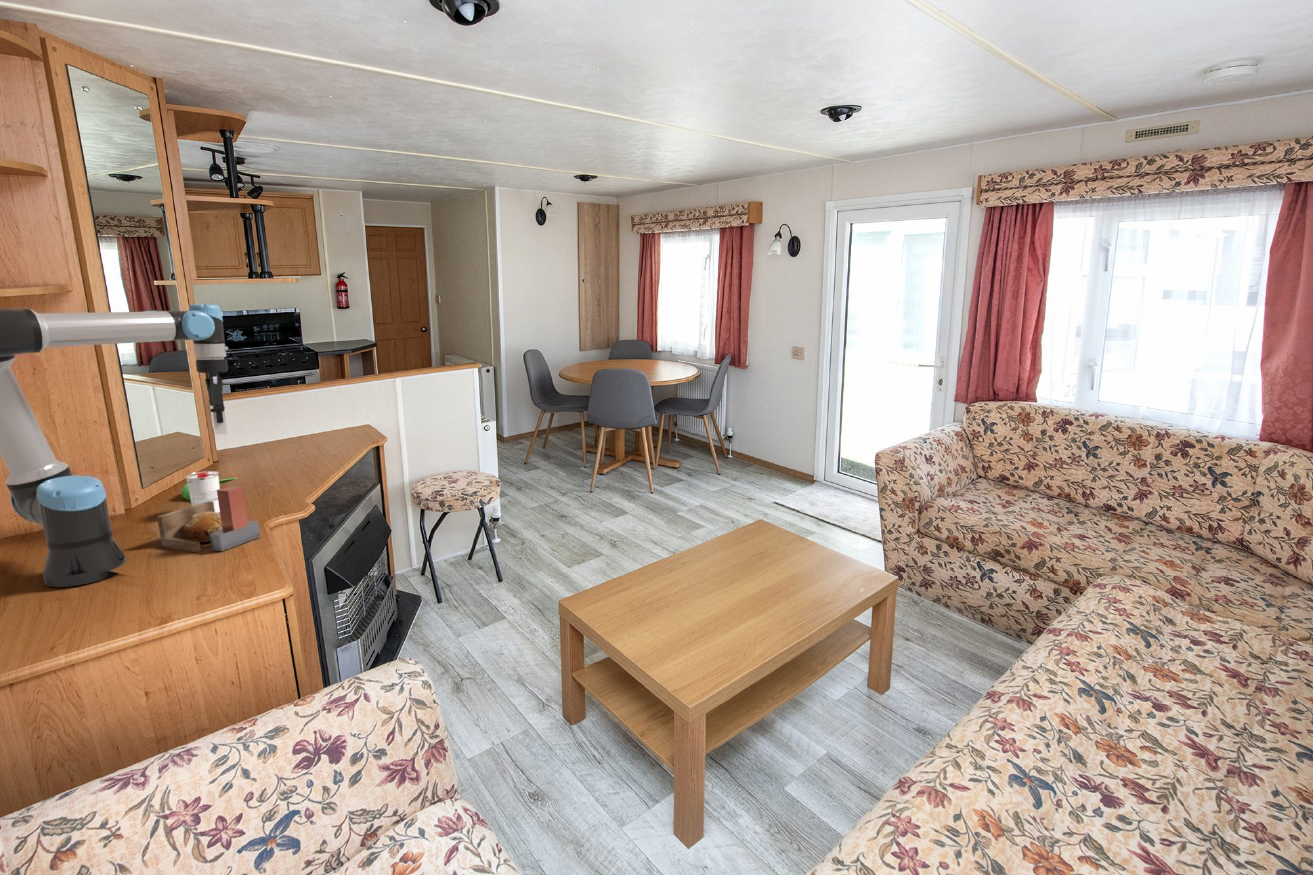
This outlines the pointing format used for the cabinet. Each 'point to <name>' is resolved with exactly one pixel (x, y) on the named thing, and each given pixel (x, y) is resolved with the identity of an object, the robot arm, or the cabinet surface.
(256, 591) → the cabinet surface
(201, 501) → the striped cup with float
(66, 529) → the robot arm
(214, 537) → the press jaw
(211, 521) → the bread roll
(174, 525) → the frame
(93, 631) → the cabinet surface
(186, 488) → the lime squeezer
